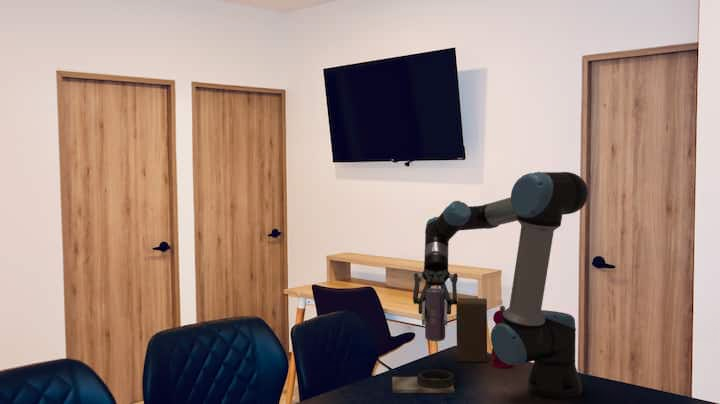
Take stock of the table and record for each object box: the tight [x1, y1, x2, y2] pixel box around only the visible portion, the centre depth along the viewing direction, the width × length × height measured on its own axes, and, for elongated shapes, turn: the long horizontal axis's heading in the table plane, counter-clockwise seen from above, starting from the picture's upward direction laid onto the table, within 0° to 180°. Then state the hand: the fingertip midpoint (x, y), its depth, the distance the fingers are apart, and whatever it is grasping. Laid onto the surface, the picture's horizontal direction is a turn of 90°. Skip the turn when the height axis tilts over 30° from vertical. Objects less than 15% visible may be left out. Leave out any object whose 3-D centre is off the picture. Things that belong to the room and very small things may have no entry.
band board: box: [391, 369, 455, 394], centre depth 203 cm, size 18×12×3 cm, turn 88°
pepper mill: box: [491, 305, 513, 369], centre depth 223 cm, size 7×7×20 cm
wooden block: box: [455, 297, 488, 363], centre depth 232 cm, size 10×10×20 cm
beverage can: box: [424, 287, 446, 342], centre depth 202 cm, size 6×6×15 cm
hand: (434, 322), depth 199 cm, fingers closed on beverage can, 6 cm apart
